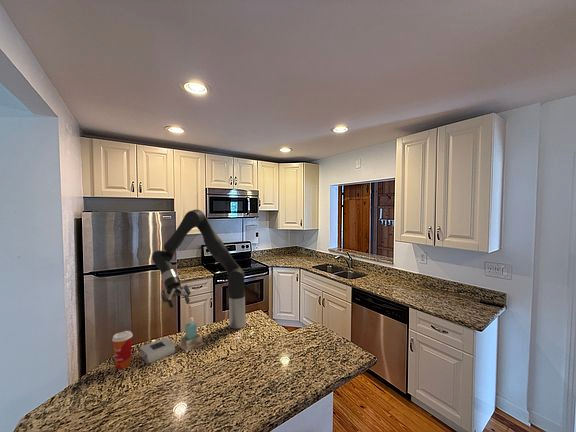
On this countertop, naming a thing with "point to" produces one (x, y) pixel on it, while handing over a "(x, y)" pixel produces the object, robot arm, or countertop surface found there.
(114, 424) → the countertop surface
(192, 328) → the teal bottle
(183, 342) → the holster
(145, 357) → the block
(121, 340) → the paper cup
